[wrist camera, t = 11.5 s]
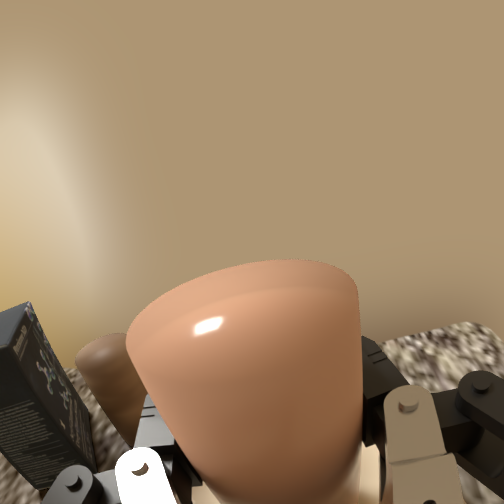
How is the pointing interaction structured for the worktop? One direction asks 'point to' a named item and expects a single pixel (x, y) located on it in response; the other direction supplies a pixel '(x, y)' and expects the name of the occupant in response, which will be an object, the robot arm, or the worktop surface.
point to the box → (38, 404)
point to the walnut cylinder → (114, 382)
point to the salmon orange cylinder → (260, 380)
